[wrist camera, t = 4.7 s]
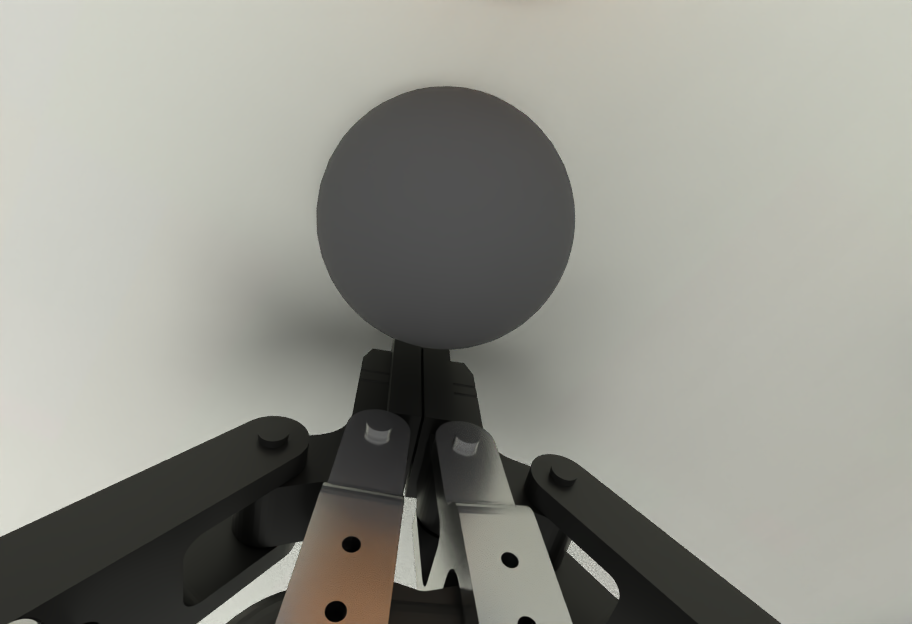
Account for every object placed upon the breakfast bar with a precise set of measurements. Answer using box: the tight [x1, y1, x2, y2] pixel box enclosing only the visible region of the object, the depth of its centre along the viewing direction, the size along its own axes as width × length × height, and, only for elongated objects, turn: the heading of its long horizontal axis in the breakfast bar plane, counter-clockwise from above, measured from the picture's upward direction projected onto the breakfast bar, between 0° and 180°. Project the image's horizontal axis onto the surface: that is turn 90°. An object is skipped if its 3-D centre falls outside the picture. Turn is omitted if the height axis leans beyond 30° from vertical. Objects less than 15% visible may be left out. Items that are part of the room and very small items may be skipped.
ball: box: [317, 86, 575, 349], centre depth 11 cm, size 6×6×6 cm
